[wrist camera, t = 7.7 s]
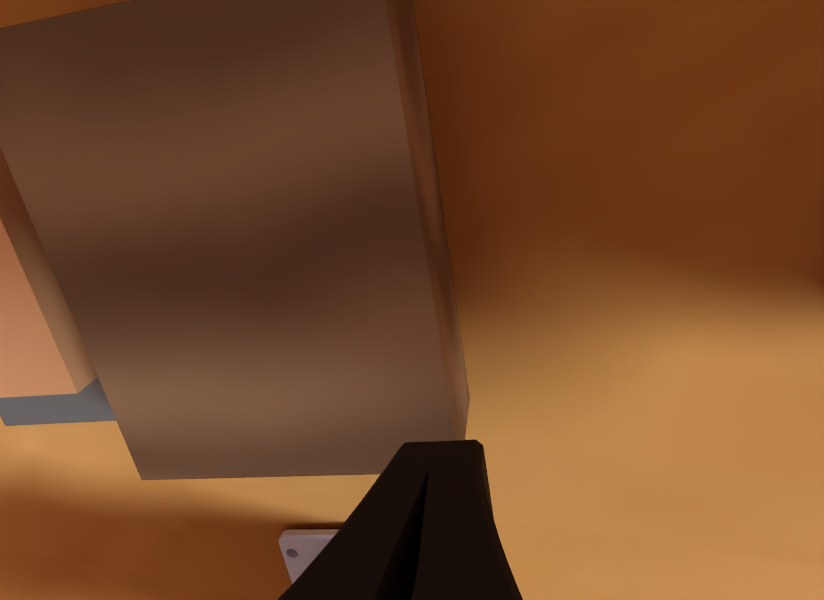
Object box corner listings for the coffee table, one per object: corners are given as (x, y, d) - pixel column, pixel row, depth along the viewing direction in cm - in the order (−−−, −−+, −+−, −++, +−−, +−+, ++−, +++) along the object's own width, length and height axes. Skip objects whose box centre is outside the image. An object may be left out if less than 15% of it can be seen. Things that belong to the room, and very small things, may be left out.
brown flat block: (469, 398, 22) (461, 472, 18) (197, 412, 24) (141, 480, 20) (407, -35, 16) (377, -52, 13) (63, 36, 18) (-46, 38, 15)
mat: (197, 412, 24) (194, 416, 24) (10, 421, 26) (5, 425, 25) (63, 36, 18) (56, 36, 18) (-162, 82, 20) (-171, 83, 20)
